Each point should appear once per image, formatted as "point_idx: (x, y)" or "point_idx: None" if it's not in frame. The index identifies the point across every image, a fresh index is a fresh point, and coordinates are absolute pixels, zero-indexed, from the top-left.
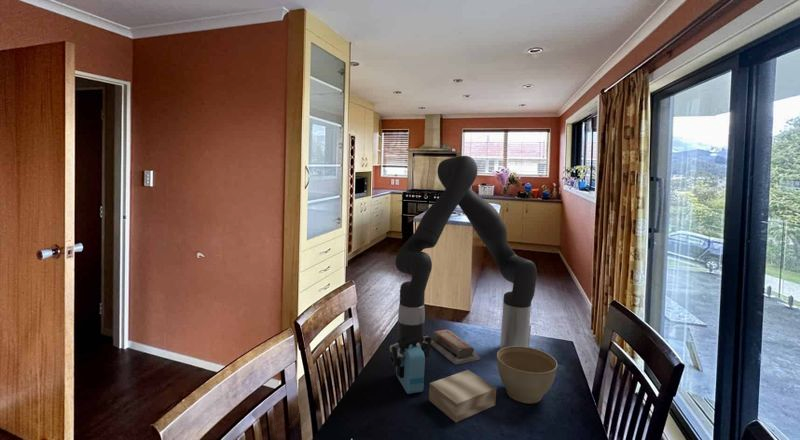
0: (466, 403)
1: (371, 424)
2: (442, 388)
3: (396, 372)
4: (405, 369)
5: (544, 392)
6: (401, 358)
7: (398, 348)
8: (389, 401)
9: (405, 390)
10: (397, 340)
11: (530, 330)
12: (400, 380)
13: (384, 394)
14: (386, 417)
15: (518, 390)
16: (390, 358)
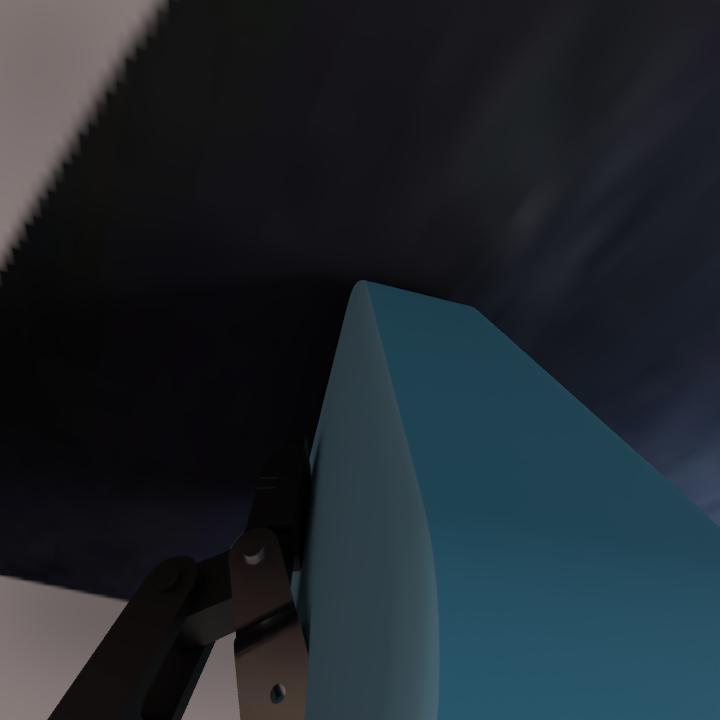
0: None
1: (68, 560)
2: None
3: (351, 297)
4: (296, 579)
5: None
6: (315, 551)
7: (346, 533)
8: (191, 484)
9: (309, 458)
10: (385, 667)
11: None
12: (328, 384)
13: (183, 431)
14: (143, 551)
15: None
16: (108, 642)
